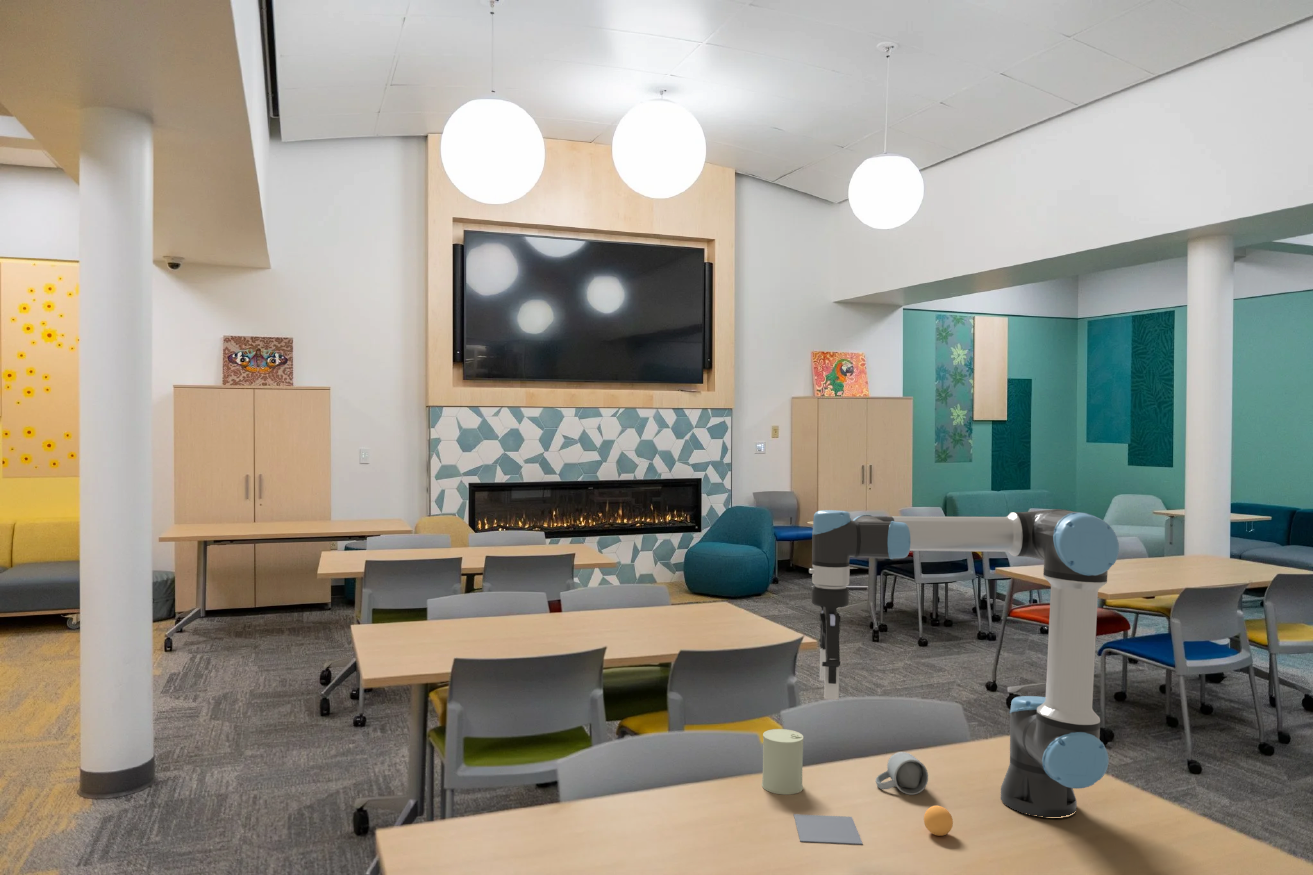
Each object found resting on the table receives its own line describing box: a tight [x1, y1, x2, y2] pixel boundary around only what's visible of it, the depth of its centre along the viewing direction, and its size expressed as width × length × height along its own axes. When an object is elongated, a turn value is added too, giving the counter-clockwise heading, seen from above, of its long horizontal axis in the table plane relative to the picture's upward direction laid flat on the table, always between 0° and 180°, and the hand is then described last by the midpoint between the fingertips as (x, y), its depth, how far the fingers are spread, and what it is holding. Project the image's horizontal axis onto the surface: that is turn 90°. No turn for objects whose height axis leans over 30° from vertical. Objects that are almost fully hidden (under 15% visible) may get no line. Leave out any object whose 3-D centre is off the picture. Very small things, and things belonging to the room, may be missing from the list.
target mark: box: [793, 813, 863, 845], centre depth 172 cm, size 12×12×1 cm
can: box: [761, 728, 805, 796], centre depth 193 cm, size 9×9×12 cm
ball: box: [923, 805, 954, 837], centre depth 171 cm, size 6×6×6 cm
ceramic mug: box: [875, 751, 929, 796], centre depth 194 cm, size 11×8×8 cm
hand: (828, 689), depth 176 cm, fingers open, 13 cm apart
